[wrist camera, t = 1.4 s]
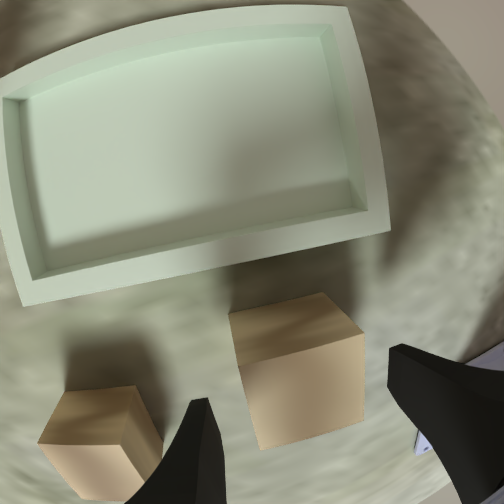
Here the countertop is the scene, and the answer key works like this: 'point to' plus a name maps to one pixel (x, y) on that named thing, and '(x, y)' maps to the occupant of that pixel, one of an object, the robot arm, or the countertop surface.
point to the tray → (187, 149)
